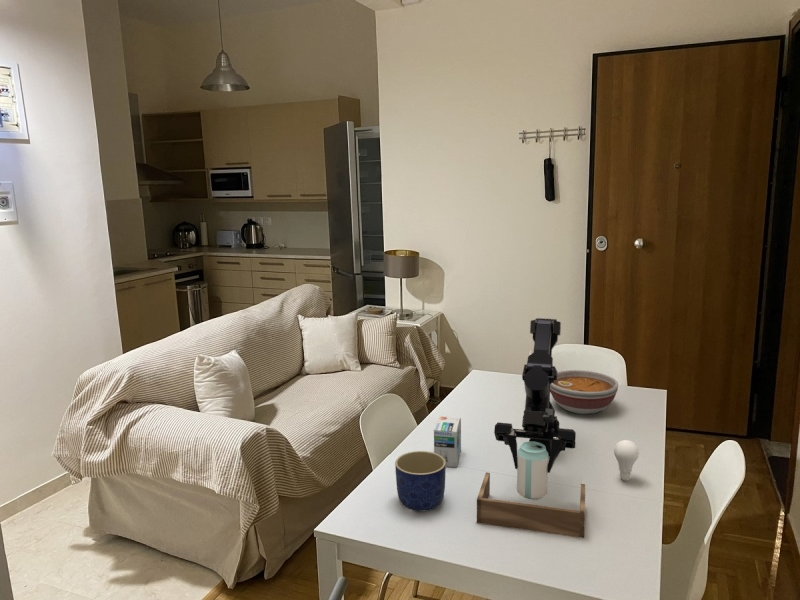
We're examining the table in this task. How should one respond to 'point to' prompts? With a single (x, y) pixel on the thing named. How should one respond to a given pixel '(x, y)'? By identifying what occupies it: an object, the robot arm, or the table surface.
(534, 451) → the can
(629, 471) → the lightbulb
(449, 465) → the light bulb box
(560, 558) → the table surface
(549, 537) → the table surface
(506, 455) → the table surface
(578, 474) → the table surface
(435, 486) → the planter
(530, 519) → the three-sided wooden tray
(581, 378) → the bowl
